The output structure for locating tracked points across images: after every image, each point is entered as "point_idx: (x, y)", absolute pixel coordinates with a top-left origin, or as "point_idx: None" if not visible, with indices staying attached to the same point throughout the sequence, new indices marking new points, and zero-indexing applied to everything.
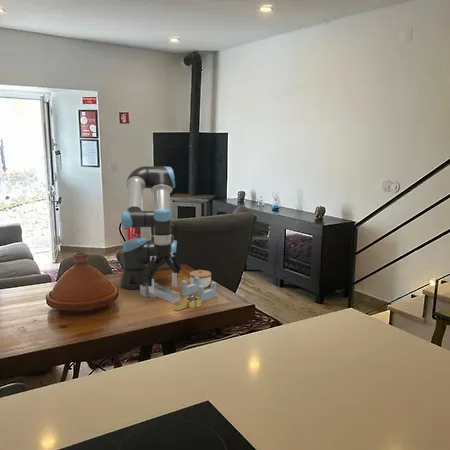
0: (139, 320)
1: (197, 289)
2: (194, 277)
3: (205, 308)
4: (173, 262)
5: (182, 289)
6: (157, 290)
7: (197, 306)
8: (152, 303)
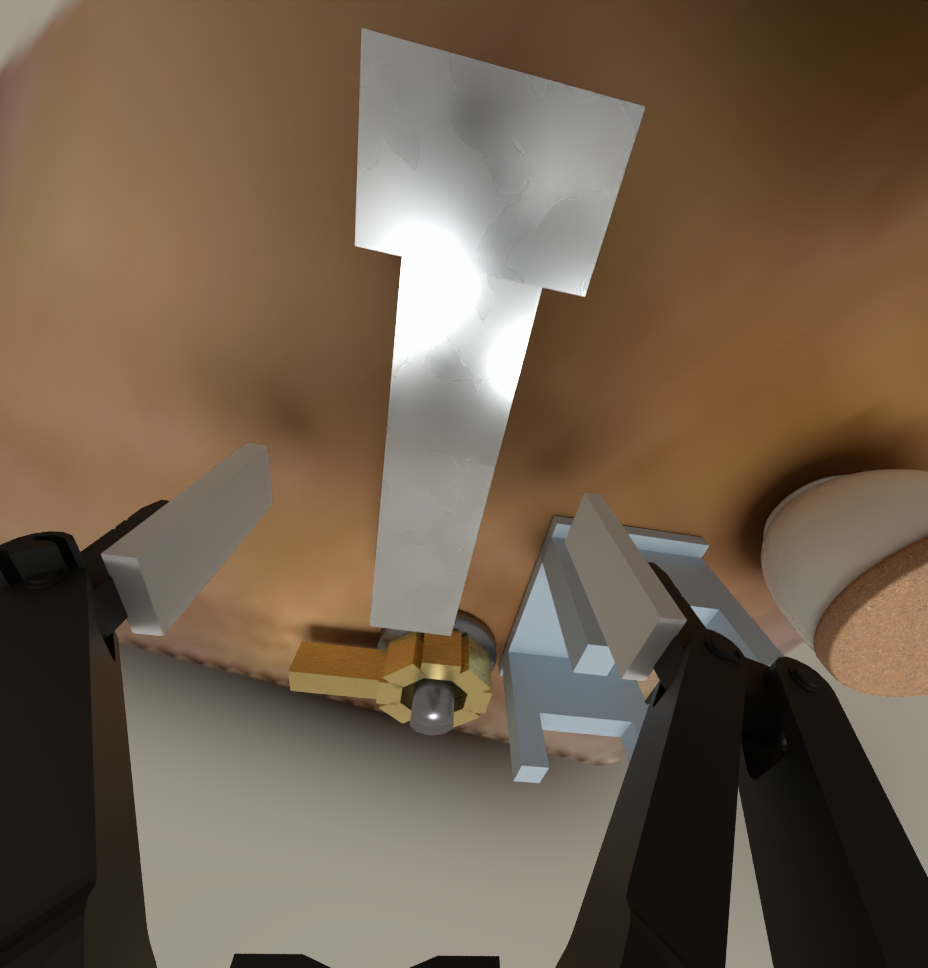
0: None
1: None
2: None
3: None
4: (838, 872)
5: (561, 586)
6: (386, 451)
7: None
8: (313, 434)
